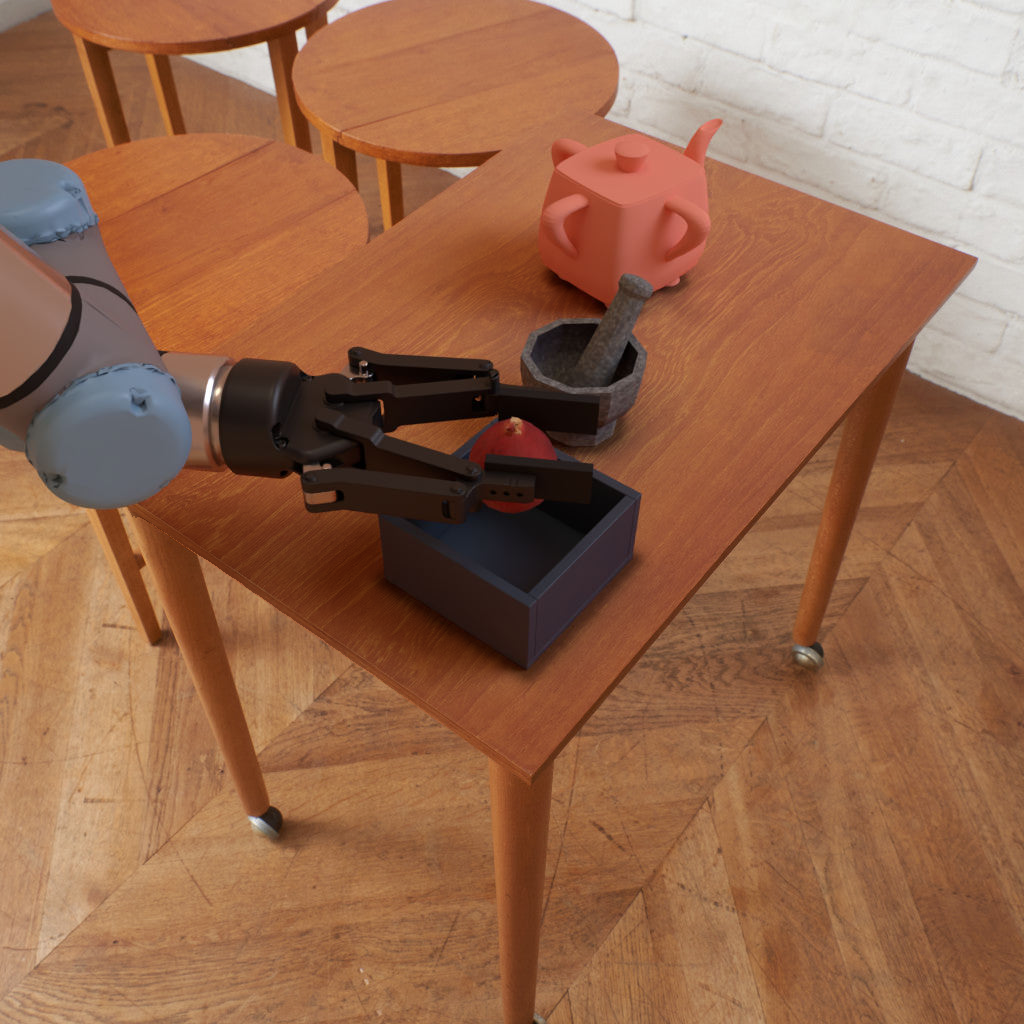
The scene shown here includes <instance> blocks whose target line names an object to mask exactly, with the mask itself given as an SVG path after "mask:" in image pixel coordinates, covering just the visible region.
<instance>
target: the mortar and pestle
mask: <svg viewBox="0 0 1024 1024" xmlns="http://www.w3.org/2000/svg"><path fill="white" fill-rule="evenodd" d="M618 285H619V290H618V291H617V293H616V295H615V297H614V299H613V300H612V302H611V304H610V306H609V308H606V311H605V313H604V315H603V317H602V319H601V318H598V317H579V318H575V317H574V318H558V319H556V320H554V321H552V322H549V323H547V324H545V325H544V326H542V327H539V328H537V329H535V330H533V331H531V332H530V333H529V334H528V337H527V339H526V342H525V344H524V347H523V349H522V352H521V353H520V358H519V359H520V363H519V370H520V376H521V383H522V386H526V387H527V386H531V387H542V388H545V389H547V390H549V392H560V393H572V394H583V395H595V396H600V406H599V416H598V427H597V435H588V434H577V433H566V432H555V431H545V432H546V435H547V436H548V438H549V439H552V440H555V441H556V442H559V443H561V444H564V445H566V446H567V447H573V448H574V447H595V446H597V445H598V444H601V443H602V442H604V441H606V440H607V439H610V438H611V437H613V435H614V431H615V428H616V425H617V422H618V419H620V418H621V417H624V416H625V415H626V414H627V413H628V412H629V411H630V410H631V409H632V408H633V407H634V406H635V403H636V402H637V399H638V395H639V393H640V388H641V385H642V383H643V377H644V374H645V370H646V367H647V360H648V351H647V350H646V349H645V347H644V346H643V345H642V344H641V342H640V341H639V339H638V338H637V337H636V336H635V335H634V334H633V330H634V328H635V326H636V324H637V321H638V319H639V316H640V314H641V311H642V310H643V306H644V304H645V302H646V301H648V300H649V299H651V297H652V295H653V293H654V292H653V286H652V285H651V284H650V283H649V282H648V281H646V280H645V279H643V278H641V277H639V276H636V275H633V274H628V273H625V274H623V275H622V276H621V278H620V280H619V282H618Z"/></svg>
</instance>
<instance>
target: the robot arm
mask: <svg viewBox="0 0 1024 1024" xmlns="http://www.w3.org/2000/svg"><path fill="white" fill-rule="evenodd" d="M99 223H100V218H99V216H98V213H97V212H96V211H94V208H93V206H92V203H91V201H90V198H89V195H88V192H87V190H86V187H85V183H84V182H83V180H82V179H81V177H80V176H79V175H78V174H77V173H76V172H75V171H74V170H72V168H69V167H68V166H66V165H64V164H62V163H59V162H56V161H53V160H48V159H42V158H13V159H8V160H3V161H0V446H1V447H3V448H5V449H7V450H10V451H12V452H17V453H22V454H24V455H25V458H26V460H27V462H28V463H29V464H30V465H31V466H32V467H33V468H34V470H35V471H36V473H37V475H38V477H39V479H41V482H42V483H43V484H44V486H45V487H46V488H47V490H49V492H51V493H52V494H53V495H54V496H56V497H57V498H58V499H60V500H62V501H64V503H65V502H66V503H67V504H70V505H73V506H76V507H77V508H83V509H89V510H102V511H103V510H105V511H106V510H116V509H123V508H127V507H131V506H134V505H137V504H139V503H141V502H144V501H146V500H148V499H150V498H152V497H153V496H155V495H157V494H158V493H159V492H160V491H161V490H163V488H165V487H168V486H169V484H170V483H171V481H173V480H175V478H176V477H177V476H179V474H180V472H181V471H182V470H187V471H188V470H189V471H198V472H199V471H200V472H210V473H224V472H226V471H227V470H228V469H229V470H230V471H231V473H232V474H235V475H237V476H245V477H257V478H265V479H266V478H267V479H277V480H283V479H287V478H288V477H290V476H291V475H292V474H293V473H294V474H297V475H298V476H300V477H299V481H300V486H301V492H302V496H303V502H304V507H305V511H307V513H311V514H320V513H321V514H322V513H328V512H329V513H330V512H337V511H350V512H357V513H366V514H371V515H378V514H379V515H387V516H394V517H402V518H409V519H417V520H425V521H432V522H440V523H447V524H455V525H459V524H462V523H464V522H465V521H466V520H467V513H468V512H469V513H476V512H478V511H480V510H481V509H482V500H491V501H501V502H512V503H515V502H516V503H522V504H527V503H532V502H534V499H543V500H553V501H563V502H574V503H584V504H590V499H591V488H592V478H593V468H594V467H595V466H594V465H595V463H593V462H583V461H581V462H571V461H561V460H550V459H539V458H528V457H517V456H507V455H496V454H486V456H485V461H484V469H482V468H481V466H480V465H479V464H477V463H475V462H472V461H469V460H465V459H462V458H459V457H456V456H452V455H451V454H449V453H445V452H443V451H440V450H437V449H432V448H429V447H426V446H423V445H420V444H416V443H414V442H410V441H408V440H404V439H400V438H397V437H394V436H391V435H387V434H390V433H394V432H396V431H397V429H398V428H399V427H402V426H403V427H404V426H413V425H414V426H415V425H423V424H434V423H444V422H453V421H463V420H464V421H465V420H474V419H485V418H492V417H496V416H497V418H498V422H499V421H503V420H507V419H511V418H512V417H516V418H519V419H522V420H525V421H527V422H529V423H531V424H533V425H534V426H535V427H537V428H539V429H540V430H541V431H542V432H543V431H545V432H546V431H555V432H566V433H577V434H588V435H597V427H598V416H599V406H600V396H595V395H583V394H572V393H560V392H549V390H547V389H545V388H542V387H531V386H527V387H526V386H523V385H518V384H508V383H507V384H506V383H502V382H501V381H500V371H499V370H498V369H497V368H495V367H494V363H493V361H491V360H489V359H483V358H469V357H467V358H466V357H449V356H433V355H413V354H398V353H397V354H396V353H383V352H379V351H376V350H373V349H370V348H367V347H363V346H352V347H350V348H349V349H348V350H347V360H348V362H347V364H345V366H344V367H343V368H342V369H341V371H340V372H328V373H324V374H318V375H311V374H308V373H306V372H305V371H303V370H302V369H301V368H300V367H299V365H297V364H296V363H294V362H292V361H288V360H278V359H265V358H253V357H243V358H241V359H240V360H239V361H236V359H235V358H234V357H232V356H230V355H228V354H214V353H203V352H202V353H201V352H188V351H175V350H171V351H170V350H161V349H158V348H157V347H156V345H155V344H154V342H153V340H152V338H151V336H150V333H148V331H147V329H146V327H145V325H144V323H143V321H142V319H141V317H140V315H139V314H138V311H137V310H136V307H135V306H134V303H133V302H132V300H131V297H130V296H129V293H128V290H127V289H126V287H125V286H124V284H123V281H122V279H121V278H120V276H119V274H118V271H117V270H116V268H115V266H114V264H113V262H112V260H111V258H110V256H109V253H108V252H107V249H106V245H105V243H104V240H103V236H102V233H101V230H100V226H99ZM477 399H478V400H477ZM381 401H382V403H381ZM382 405H383V406H382ZM382 407H383V412H382ZM382 413H383V414H382ZM582 462H583V463H582ZM443 501H446V502H447V503H443Z"/></svg>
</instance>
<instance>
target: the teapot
mask: <svg viewBox="0 0 1024 1024" xmlns="http://www.w3.org/2000/svg"><path fill="white" fill-rule="evenodd" d="M723 123H724V120H723V119H722V118H713V119H710V120H708V121H706V122H704V123H703V124H701V126H700V127H698V128H697V129H696V131H695V133H694V134H693V135H692V137H691V138H690V140H689V142H688V144H687V146H686V148H685V150H684V151H683V153H680V152H679V151H676V150H675V149H673V148H671V147H669V146H667V145H666V144H663V143H661V142H659V141H657V140H654V139H652V138H650V137H648V136H646V135H643V134H641V133H637V132H635V133H634V132H633V133H628V134H624V135H621V136H618V137H614V138H612V139H609V140H606V141H603V142H600V143H598V144H597V143H596V144H594V145H592V146H590V147H587V146H586V145H584V144H582V143H580V142H578V141H576V140H575V139H570V138H558V139H557V140H555V141H554V142H553V143H552V144H551V150H550V151H551V153H550V154H551V161H552V164H553V167H554V169H553V171H552V174H551V177H550V180H549V184H548V186H547V190H546V193H545V197H544V200H543V203H542V209H541V213H540V219H539V224H538V225H539V226H538V232H537V247H538V252H539V255H540V258H541V260H542V263H543V265H544V266H545V267H547V269H550V270H551V271H552V272H553V273H555V274H556V275H557V276H558V277H559V278H560V279H561V280H563V281H566V282H568V283H570V284H571V285H572V286H574V287H576V288H577V289H579V290H580V291H583V292H584V293H586V294H588V295H589V296H590V297H592V298H594V299H596V300H599V301H600V302H602V303H603V304H604V307H606V309H608V308H609V306H610V304H611V302H612V300H613V299H614V297H615V295H616V293H617V291H618V290H619V285H618V282H619V280H620V278H621V276H622V275H623V274H625V273H628V274H633V275H636V276H639V277H641V278H643V279H645V280H646V281H648V282H649V283H650V284H651V285H652V286H653V293H654V292H657V291H658V290H660V289H662V288H664V287H674V286H677V285H678V284H679V283H680V282H681V281H680V280H681V278H680V277H681V276H683V275H684V274H686V273H687V272H689V271H690V270H691V269H692V268H693V267H695V265H696V264H698V261H699V260H700V258H701V256H702V255H703V253H704V251H705V247H706V243H707V237H708V236H709V234H710V232H711V229H712V221H711V218H710V216H709V194H708V186H707V185H708V184H707V176H706V170H705V161H706V155H707V151H708V148H709V145H710V143H711V141H712V139H713V137H714V136H715V135H716V133H717V131H718V130H720V128H721V127H722V125H723Z"/></svg>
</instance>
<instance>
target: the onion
mask: <svg viewBox="0 0 1024 1024" xmlns="http://www.w3.org/2000/svg"><path fill="white" fill-rule="evenodd" d="M553 447H554V446H553V444H552V442H551V440H550V437H549V436H548V435H547V434H545V433H544V432H543V430H540V429H539V428H537V427H535V426H534V425H533V424H531V423H529V422H527V421H525V420H522V419H519V418H516V417H512V418H511V419H507V420H503V421H499V422H497V423H495V424H494V425H492V426H491V427H490V428H489V429H487V430H486V431H485V432H484V433H483V434H482V435H481V436H480V437H479V438H478V439H477V441H476V442H475V444H474V445H473V447H472V448H471V451H470V454H469V461H472V462H475V463H477V464H479V465H480V466H481V468H482V469H484V461H485V456H486V454H496V455H507V456H517V457H528V458H539V459H550V460H557V456H556V453H555V450H554V448H555V447H554V448H553ZM482 501H483V502H484V503H485V504H486V505H487V506H488V507H490V508H493V509H495V510H498V511H501V512H505V513H513V514H514V513H519V512H523V511H527V510H529V509H531V508H533V507H535V506H537V505H539V504H540V503H541V502H542V501H543V499H534V502H532V503H527V504H522V503H516V502H515V503H512V502H501V501H491V500H482Z"/></svg>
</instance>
